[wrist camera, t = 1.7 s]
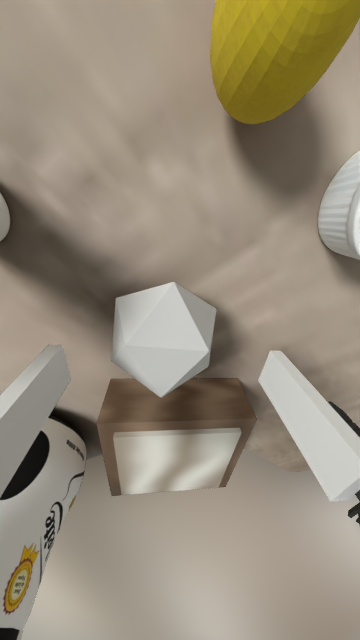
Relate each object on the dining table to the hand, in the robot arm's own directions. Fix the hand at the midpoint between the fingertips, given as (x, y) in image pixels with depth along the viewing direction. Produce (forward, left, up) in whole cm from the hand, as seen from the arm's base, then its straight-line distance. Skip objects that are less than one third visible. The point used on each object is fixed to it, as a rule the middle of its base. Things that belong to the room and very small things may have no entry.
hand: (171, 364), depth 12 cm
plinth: (+2, -17, -7) cm, 19 cm away
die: (0, 0, -8) cm, 8 cm away
